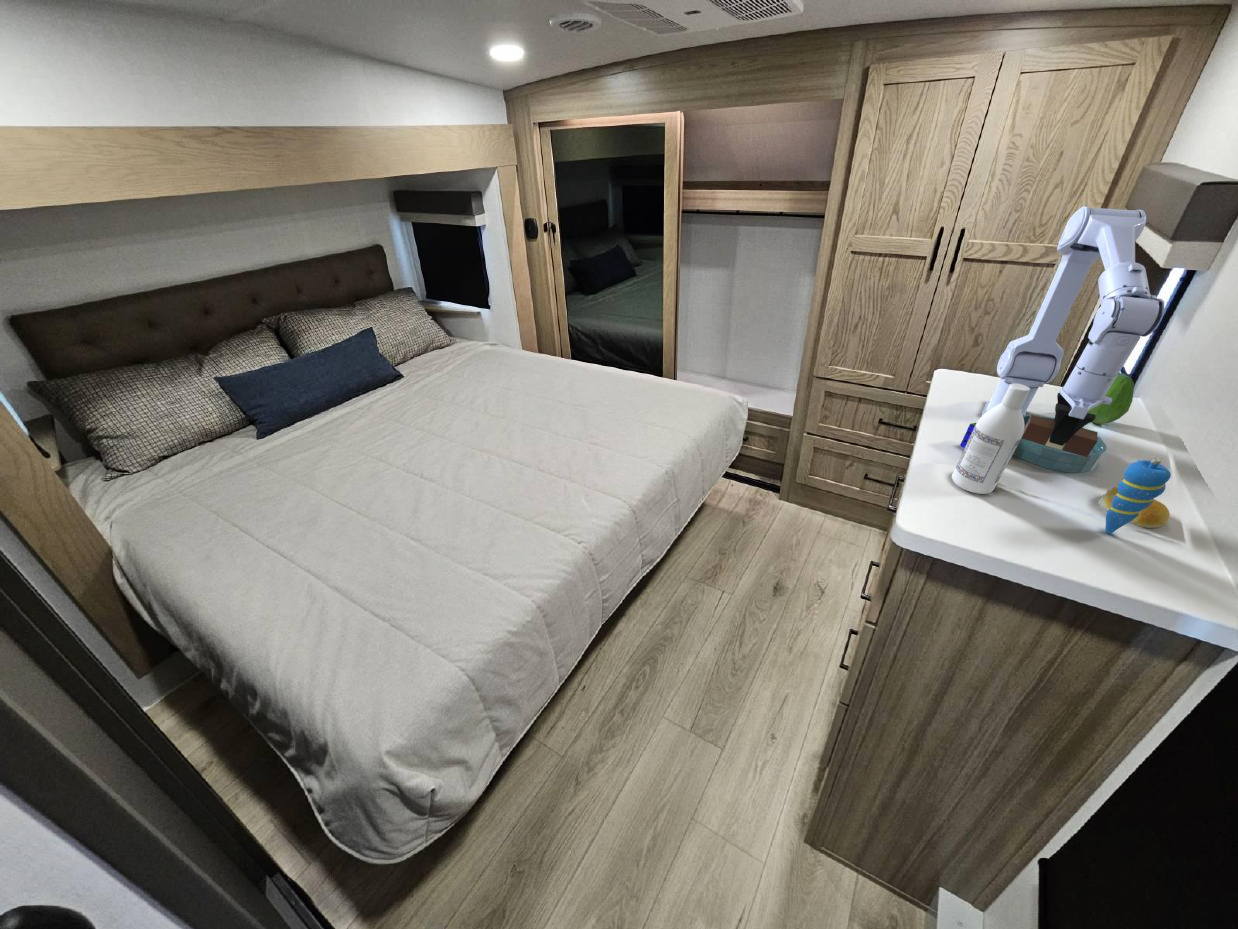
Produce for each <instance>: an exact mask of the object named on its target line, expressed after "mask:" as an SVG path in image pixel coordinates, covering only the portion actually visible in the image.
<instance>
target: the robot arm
mask: <svg viewBox="0 0 1238 929" xmlns="http://www.w3.org/2000/svg"><path fill="white" fill-rule="evenodd" d="M1146 223H1147V215H1146V212H1145V211H1144V210H1143V209H1136V210H1135V209H1134V210H1133V209H1116V208H1101V207H1100V208H1099V207H1089V206H1082V207H1080V208H1079V209H1077V210H1076V211H1075V212H1073V214H1072V215H1071V217H1070V218H1069V219H1068V220H1067V222H1066V225H1065V227H1064V229H1063V231H1062V234H1061V236H1060V239H1059V241H1058V245H1057V248H1056V251H1057V252H1059V253H1060V254H1062V256H1061V260H1060V263H1059V265H1058V267H1057V270H1056V272H1055V273H1054V276H1053V279H1052V281H1051V283H1050V285H1049V288H1048V290H1047V292H1046V294H1045V297H1044V299H1043V301H1042V304H1041V306H1040V308H1039V309H1038V312H1037V314H1036V317H1035V319H1034V322H1033V324H1032V326H1031V328H1030V331H1029V333H1028V334H1026V335H1024V336H1021V337H1019V338H1016V339H1013V340H1011V341H1009V343H1008V344H1007V346H1006V348H1005V349H1004V351H1003V353H1001V355H1000V358H999V359H998V361H997V365H996V373H997V375H998V377H1000V379H999V381H998V383H997V385H996V387H995V389H994V392H993V393H992V396H991V398H990V400H987V401H986V403H985V406H984V408H983V410H982V413H981V416H982V415H984V414H985V413H986V412H987V411H989V410H990V409H992V408H994V407H995V406H997V405H999V404H1000V403H1001V402H1002V400H1003V398H1004V396H1005V394H1006V392H1007V390H1008V388H1009V386H1010V384H1013V383H1016V384H1022V385H1025V386H1027V387H1029V388H1030V392H1029V394H1028V396H1027V398H1026V400H1025V402H1024V404H1023V405H1022V407H1021V411H1022V415H1027V410H1028V409H1029V406H1030V405H1031V403H1032V401H1033V399H1034V398H1035V396H1036V393H1037V392H1038V390H1039V388H1043V387H1044V386H1045V384H1049V383H1051V382H1052V381H1053V380H1054V379H1056V377H1057V376H1058V374H1059V371H1060V368H1061V364H1062V360H1063V357H1064V354H1065V351H1064V349H1063V348H1062V346H1061V345H1060V344H1059V343H1058V342H1057V339H1058V337H1059V335H1060V332H1061V330H1062V328H1063V326H1064V324H1065V322H1066V320H1067V318H1068V316H1069V313H1070V312H1071V309H1072V307H1073V305H1074V303H1075V301H1076V298H1077V296H1078V294H1079V293H1080V291H1081V288H1082V286H1083V283H1084V281H1085V279H1086V277H1087V276H1088V274H1089V271H1090V269H1091V267H1092V265H1093V263H1094V262H1096V261H1097V260H1099V259H1100V258H1101V261H1102V265H1103V268H1104V271H1103V272H1102V273H1101V274H1100V275H1099V277H1098V279H1097V283H1098V290H1099V291H1098V293H1099V299H1100V301H1099V302H1100V306H1099V307H1098V308H1097V311H1096V313H1095V315H1094V317H1093V324H1092V326H1091V329H1090V331H1089V333H1088V336H1087V338H1088V339H1089V341H1088V342H1087V344H1086V346H1085V348H1084V349H1083V351H1082V353H1081V354H1080V356H1079V358H1078V360H1077V362H1076V364H1075V366H1074V368H1073V370H1072V371H1071V373H1070V375H1069V377H1068V378H1067V380H1066V381H1065V384H1064V385H1063V386H1062V387H1061V388H1060V390H1059V392H1058V393H1057V394H1056V400H1057V403H1056V404H1055V406H1054V413H1055V414H1054V415H1055V416H1054V417H1053V418H1054V421H1055V423H1054V426H1053V429H1052V432H1051V435H1050V439H1049V442H1050V443H1054V444H1057V445H1061V446H1063V445H1064V444H1065V443H1066V442H1067V441H1068V440H1069V439H1070V438H1071V437H1072V436H1073V435H1074V434H1075V433H1076V432H1077V431H1078V430H1079V429H1081V428H1084V427H1085V426H1086V425H1088V424H1090V423H1092V421H1093V420H1094V419H1095V418H1096V415H1094V414H1090V413H1087V412H1088V411H1089V410H1090V409H1092V408H1094V407H1096V406H1098V405H1100V404H1107V405H1110V404H1111V402H1112V398H1110V397H1106V396H1105V395H1106V393H1107V392H1108V390H1109V388H1110V387H1111V385H1112V384H1113V382H1114V380H1115V379H1116V377H1117V375H1118V374H1119V373H1121V371H1122V369H1123V367H1124V366H1125V365H1126V363H1127V360H1128V359H1129V357H1130V356H1131V355H1132V353H1133V351H1134V349H1135V348H1136V346H1137V344H1138V343H1139V341H1140V339H1141V337H1144V338H1145V337H1147V336H1149V335H1151V334H1153V333H1154V331H1155V330H1156V329H1157V328H1158V327H1159V325H1160V324H1161V322H1162V319H1163V318H1164V315H1165V301H1164V300H1163V299H1162V298H1159V297H1158V298H1157V295H1155V294H1151V292H1150V286H1149V281H1148V276H1147V271H1146V267H1145V266H1144V265H1143V264H1142V263H1138V262H1136V242H1137V240H1138V239H1139V237H1140V236H1141V235H1142V233H1143V231H1144V229H1145V226H1146Z"/></svg>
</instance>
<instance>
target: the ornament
mask: <svg viewBox="0 0 1238 929" xmlns="http://www.w3.org/2000/svg"><path fill="white" fill-rule="evenodd" d="M1157 457H1159V458H1160V459H1158V458H1157ZM1162 459H1163V458H1162V457H1161V456H1159V455H1157V456H1155V457H1154V458H1153V459H1152V460H1146V459H1140V460H1136V461H1134V462H1132V463H1131V464H1129V465H1128V466H1127V467H1125V468H1126V469H1125V470H1124V473H1123V479H1121V480H1120V481H1119V483H1118V484H1117V487H1118V494H1116V495H1115V496H1114V498H1113V500H1112V506H1111V508H1110V509H1109V510H1108V511H1106V515H1105V528H1104V532H1105V533H1106V534H1107V535H1111V534H1113V533H1114V532H1116V531H1117V530H1119V529H1121V528H1122V527H1123V526H1125V525H1127V524H1129V523H1131V522H1130V521H1132V520H1133V519H1135V518H1136V517H1137V516H1138V515H1139V514H1140V512H1141V510H1143V509H1145V508H1147V507H1148V506H1150V505H1151V504H1152V502H1153V500H1154V499H1156V498H1157V497H1160V496H1161V495H1162V494H1163V493H1164V492H1165V491H1166V485H1167V484H1166V483H1168V481H1169V480H1170V479H1171V476H1172V474H1171V471H1170V470H1169V469H1168V468H1167V467H1166V466H1163V465H1162V464H1161V463H1162V461H1161V460H1162Z"/></svg>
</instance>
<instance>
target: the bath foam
mask: <svg viewBox="0 0 1238 929" xmlns="http://www.w3.org/2000/svg"><path fill="white" fill-rule="evenodd" d="M1029 392H1030V388H1029V387H1027V386H1025V385H1022V384H1016V383H1013V384H1010V386H1009V388H1008V390H1007V392H1006V394H1005V396H1004V398H1003V400H1002V402H1001V403H1000V404H999V405H997V406H995V407H994V408H992V409H990V410H989V411H987V412H986V413H985V414H984V415H982V414H981V416H980V418H978V420H977V421H976V422H975V423H976V425H975V427H974V429H973V431H972V434H971V436H970V438H969V440H968V442H967V444H966V446H965V448H963V450H962V453H961V455H960V456H959V459H958V461H957V464H956V466H955V468H954V470H953V472H952V475H951V479H952V481H953V482H954V484H955V485H956V486H958V487H959V488H961V489H963V490H964V491H967V492H970V493H972V494H979V495H985V494H989V493H992V492H993V491H994V490H995V488H996V487H997V484H998V483H999V481H1000V479H1001V477H1002V475H1003V474H1004V471H1005V470H1006V468H1007V466H1008V464H1009V462H1010V460H1011V459H1012V458H1013V456H1014V454H1013V453H1014V451H1015V449H1016V447H1017V446H1018V444H1019V442H1020V440H1021V438H1022V435H1023V432H1024V418H1023V415H1022V411H1021V407H1022V405H1023V404H1024V402H1025V400H1026V398H1027V396H1028V394H1029Z"/></svg>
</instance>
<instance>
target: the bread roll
mask: <svg viewBox="0 0 1238 929" xmlns="http://www.w3.org/2000/svg"><path fill="white" fill-rule="evenodd" d="M1116 494H1118V486H1117V487H1113V488H1110V489H1107V491H1106V493H1104V494H1103V495H1102V496H1101V497H1100V498H1099V500H1098V505H1099V507H1100V508H1102V509H1103V510H1104V511H1105V512H1107V511H1108V510H1109V509H1110V508H1111V506H1112V500H1113V498H1114V496H1115V495H1116ZM1170 516H1171V514H1170V510H1169V508H1168V507H1167V506H1166V505H1165V504H1164V503H1163V502H1160V501H1159V500H1157V499H1156V498H1154V500H1153V502H1152V504H1151V505H1150V506H1148V507H1147V508H1145V509H1143V510H1141V512H1140V514H1139V515H1138V516H1137V517H1136V518H1135V519H1133V520H1132V521H1130V522H1129V523H1130V524H1133V525H1135V526H1136V525H1137V526H1138V527H1141V528H1145V529H1149V528H1150V529H1151V528H1152V529H1153V528H1162V527H1164V526H1166V525H1167V524H1168V522H1169V520H1170Z"/></svg>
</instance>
